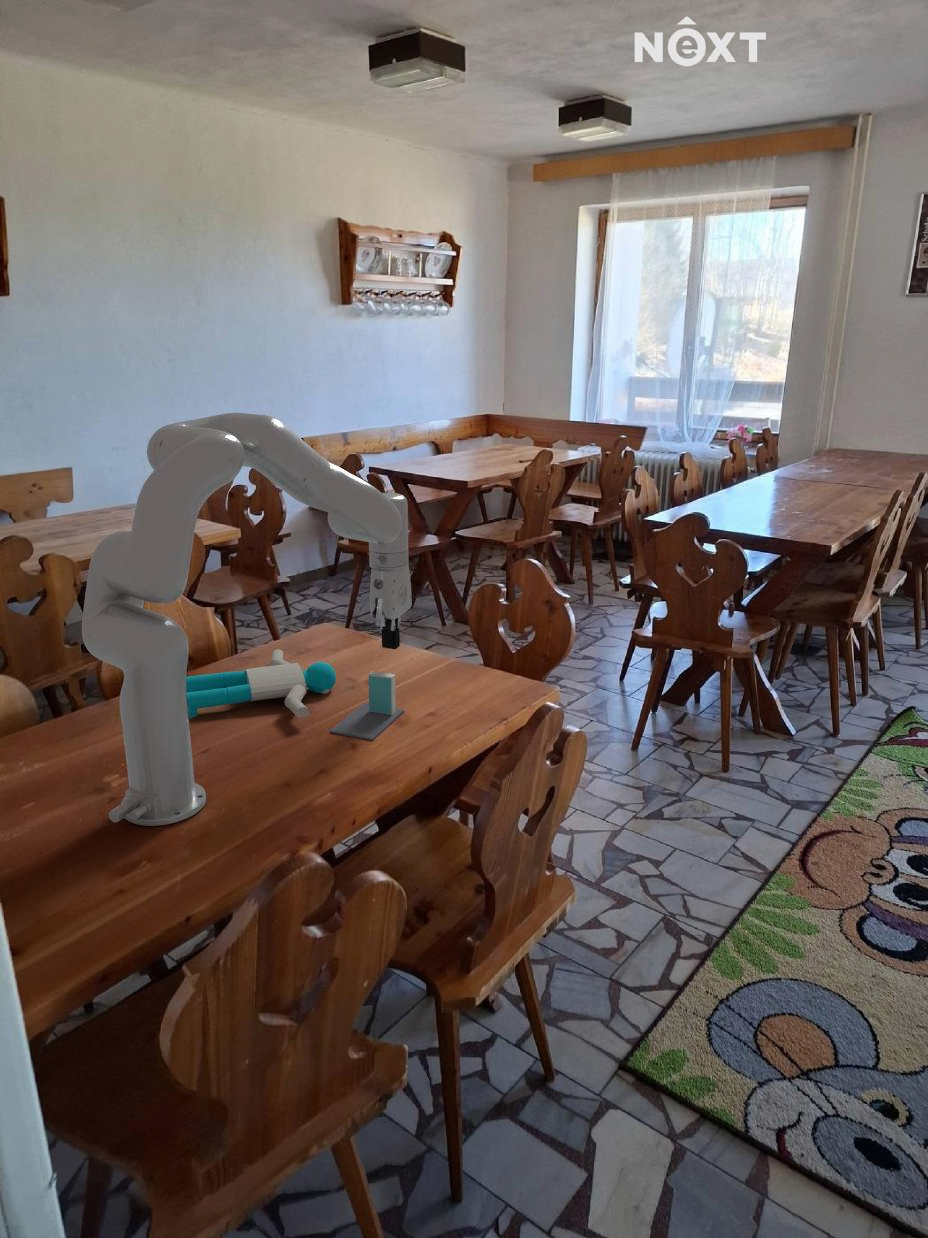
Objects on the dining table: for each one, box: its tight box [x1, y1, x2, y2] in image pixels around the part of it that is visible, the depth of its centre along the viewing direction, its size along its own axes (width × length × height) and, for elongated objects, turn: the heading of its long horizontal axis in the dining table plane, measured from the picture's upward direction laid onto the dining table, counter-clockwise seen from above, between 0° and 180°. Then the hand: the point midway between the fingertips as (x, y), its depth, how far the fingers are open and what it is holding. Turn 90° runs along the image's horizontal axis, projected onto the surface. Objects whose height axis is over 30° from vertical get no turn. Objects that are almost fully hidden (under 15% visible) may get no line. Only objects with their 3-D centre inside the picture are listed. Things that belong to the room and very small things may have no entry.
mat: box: [329, 702, 405, 741], centre depth 163 cm, size 14×9×1 cm, turn 160°
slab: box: [367, 670, 397, 715], centre depth 166 cm, size 2×5×8 cm, turn 70°
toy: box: [186, 649, 337, 719], centre depth 173 cm, size 34×6×30 cm
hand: (390, 647), depth 169 cm, fingers closed
